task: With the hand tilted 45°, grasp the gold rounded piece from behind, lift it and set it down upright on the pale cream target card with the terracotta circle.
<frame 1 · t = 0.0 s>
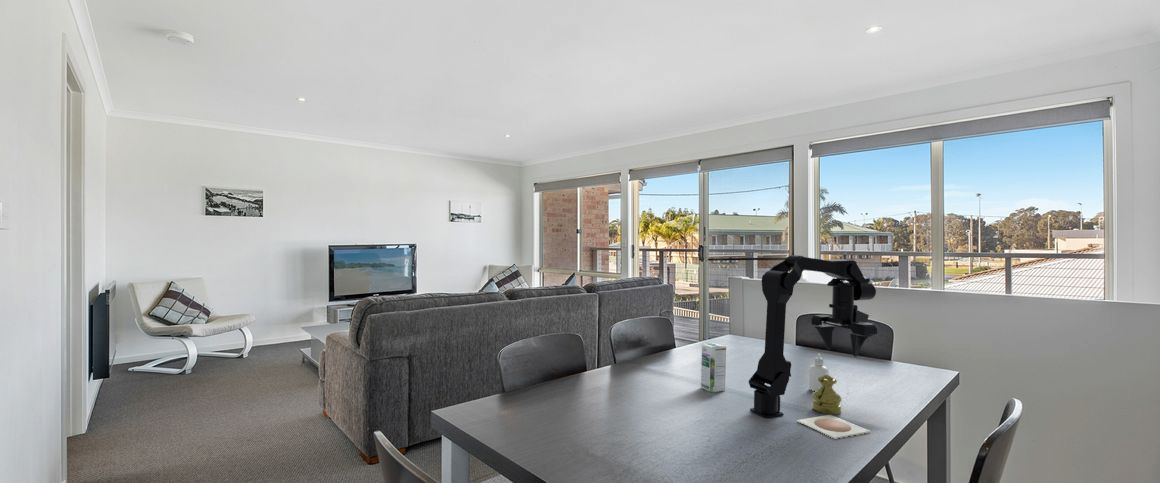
hand: (842, 353, 149), 15 cm above the table, tool pointing down, fingers open, 9 cm apart
syrup box: (713, 389, 160), on the table
eye dropper bottle: (818, 391, 159), on the table
target card: (832, 427, 129), on the table
gold rounded piece: (826, 411, 142), on the table
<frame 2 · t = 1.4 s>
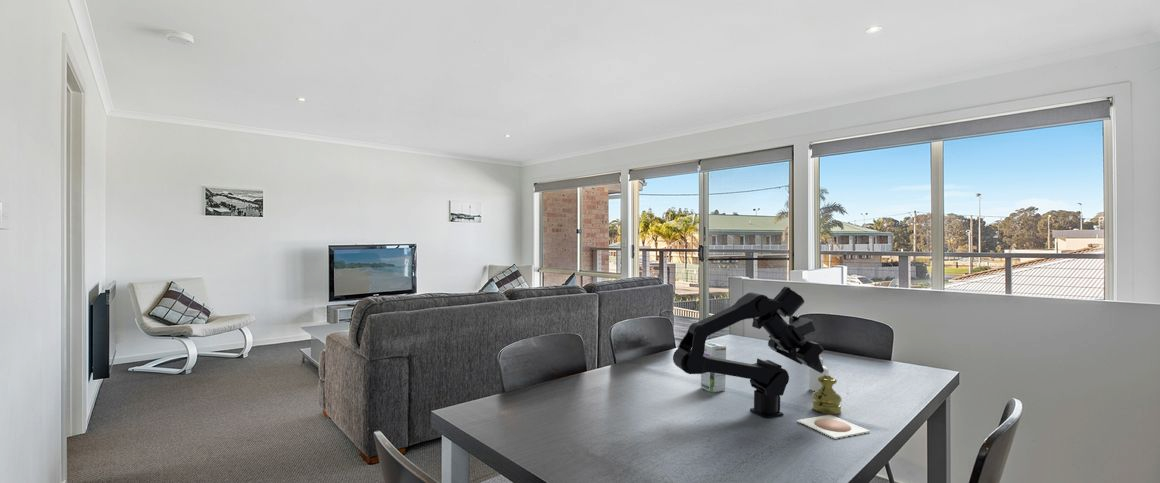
hand: (812, 367, 141), 12 cm above the table, tool tilted 45°, fingers open, 9 cm apart
nothing on the table moved.
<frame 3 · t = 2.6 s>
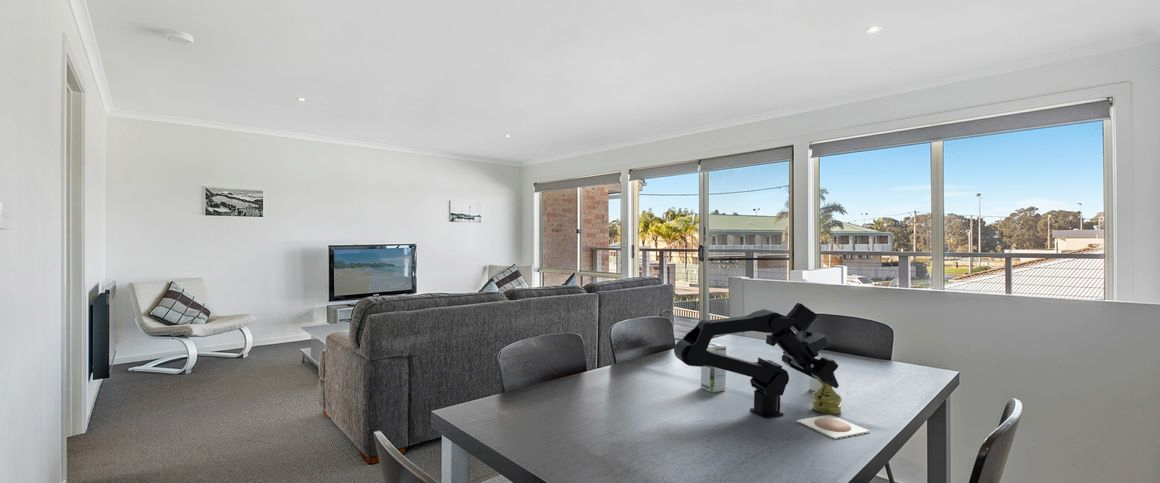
hand: (826, 382, 141), 8 cm above the table, tool tilted 45°, fingers open, 9 cm apart
nothing on the table moved.
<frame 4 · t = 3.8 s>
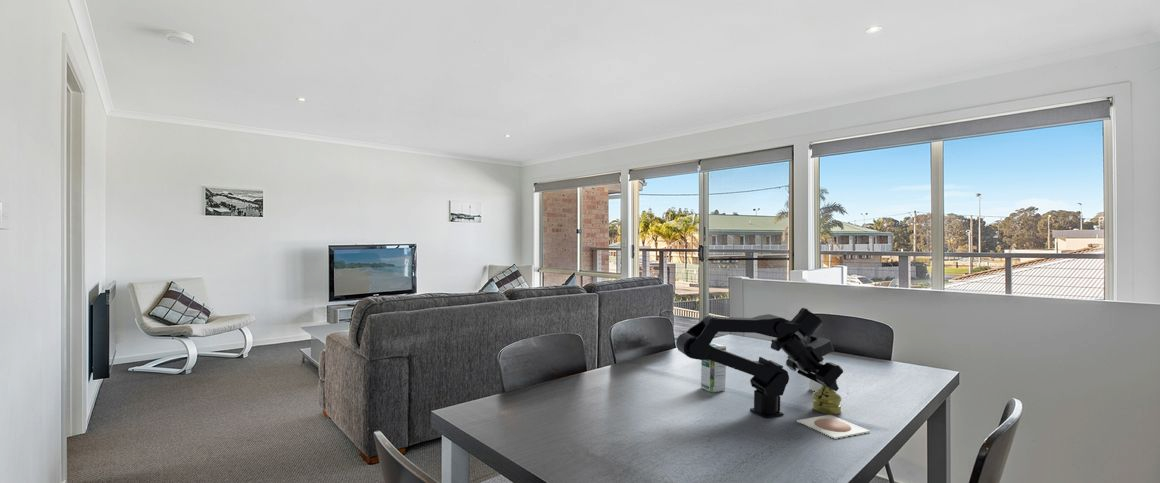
hand: (831, 387, 142), 7 cm above the table, tool tilted 45°, fingers closed on gold rounded piece, 5 cm apart
gold rounded piece: (826, 411, 142), on the table, touching gripper
everything else where it was.
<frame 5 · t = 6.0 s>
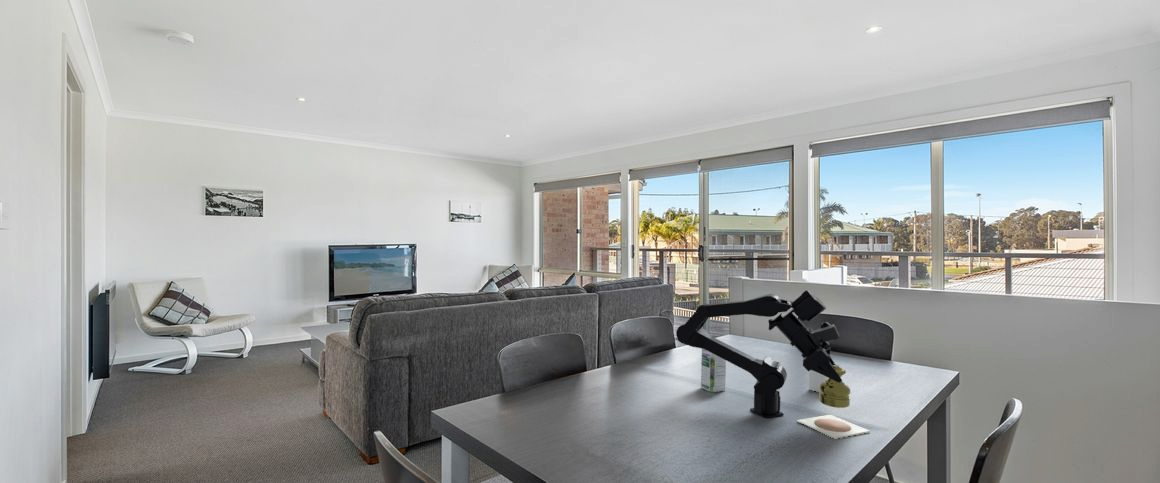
hand: (840, 379, 130), 12 cm above the table, tool tilted 45°, fingers closed on gold rounded piece, 5 cm apart
gold rounded piece: (834, 403, 131), point 5 cm above the table, touching gripper
everything else where it was.
when the fingers open (8 cm above the table, at t = 7.9 s): gold rounded piece stays where it is, resting on target card.
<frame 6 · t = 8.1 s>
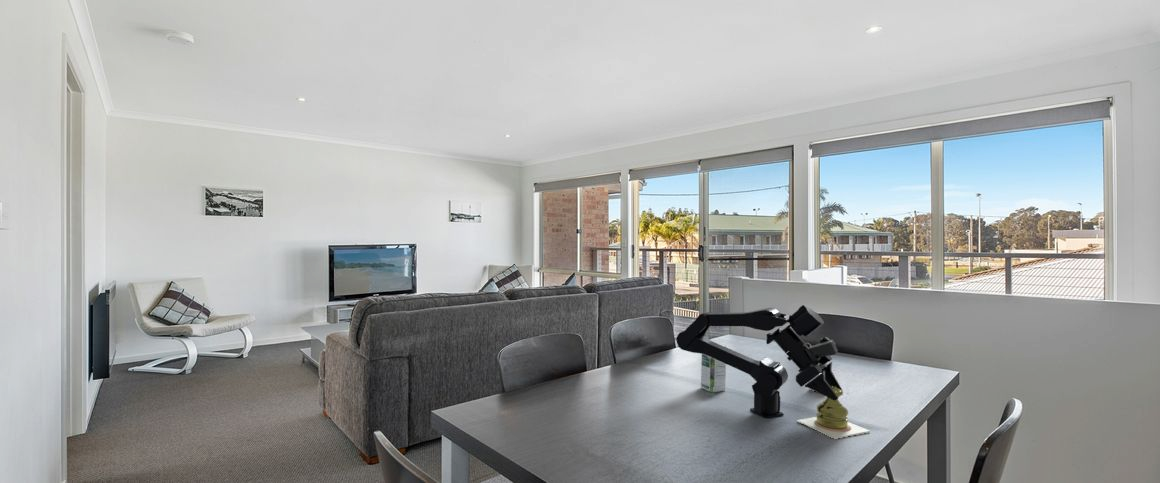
hand: (838, 395, 128), 9 cm above the table, tool tilted 45°, fingers open, 7 cm apart
gold rounded piece: (831, 425, 129), resting on target card
everything else where it was.
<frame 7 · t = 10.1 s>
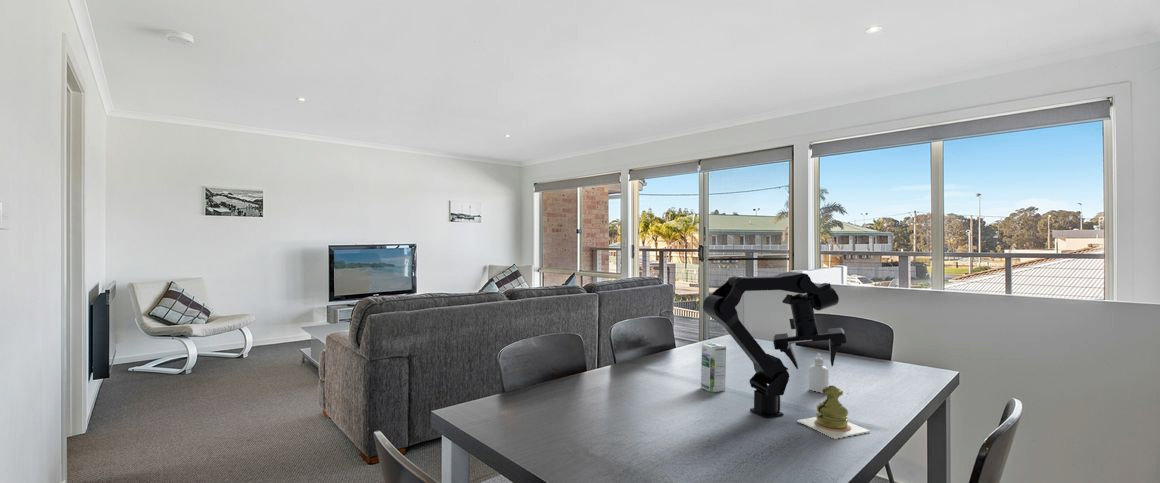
hand: (814, 367, 142), 12 cm above the table, tool pointing down, fingers open, 9 cm apart
nothing on the table moved.
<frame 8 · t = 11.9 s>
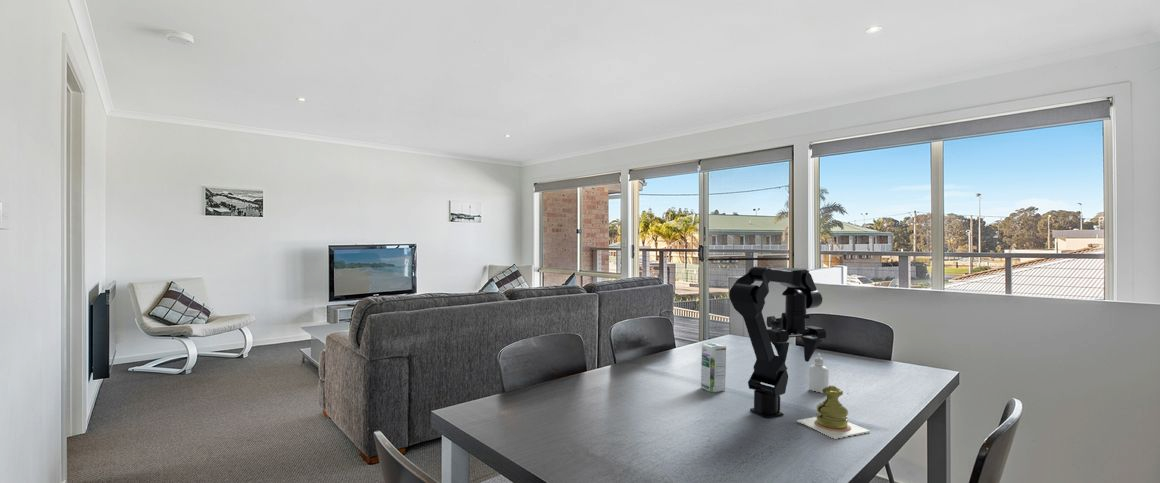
hand: (794, 362, 147), 12 cm above the table, tool pointing down, fingers open, 9 cm apart
nothing on the table moved.
at the end: gold rounded piece 0.2 cm off-centre on the target card, point 0.4 cm above the target card's base; gold rounded piece tilted 0°; the gripper is holding nothing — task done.
